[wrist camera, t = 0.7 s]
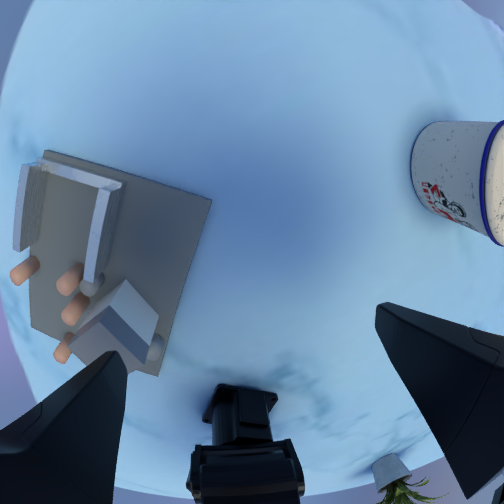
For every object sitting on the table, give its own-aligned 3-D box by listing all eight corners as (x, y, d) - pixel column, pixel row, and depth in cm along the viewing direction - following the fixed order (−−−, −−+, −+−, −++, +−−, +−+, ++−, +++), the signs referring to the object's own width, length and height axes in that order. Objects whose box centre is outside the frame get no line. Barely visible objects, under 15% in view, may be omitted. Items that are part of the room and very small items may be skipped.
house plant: (405, 429, 35) (444, 501, 20) (429, 439, 39) (461, 495, 24) (339, 472, 38) (364, 543, 22) (373, 477, 42) (397, 533, 26)
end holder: (107, 266, 20) (93, 283, 17) (32, 237, 18) (12, 249, 16) (126, 181, 18) (111, 187, 15) (44, 157, 16) (22, 160, 14)
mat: (159, 372, 25) (158, 376, 24) (33, 324, 22) (31, 327, 21) (212, 200, 20) (211, 201, 19) (48, 150, 17) (44, 150, 16)
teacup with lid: (393, 195, 21) (502, 240, 10) (421, 100, 18) (530, 93, 8) (470, 237, 23) (551, 282, 13) (493, 160, 21) (577, 181, 10)
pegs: (155, 373, 24) (150, 396, 21) (29, 323, 21) (15, 340, 18) (175, 295, 21) (170, 316, 19) (29, 241, 18) (9, 254, 16)
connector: (159, 315, 22) (144, 365, 16) (127, 337, 22) (108, 385, 17) (126, 279, 21) (99, 321, 15) (95, 303, 21) (66, 346, 15)
